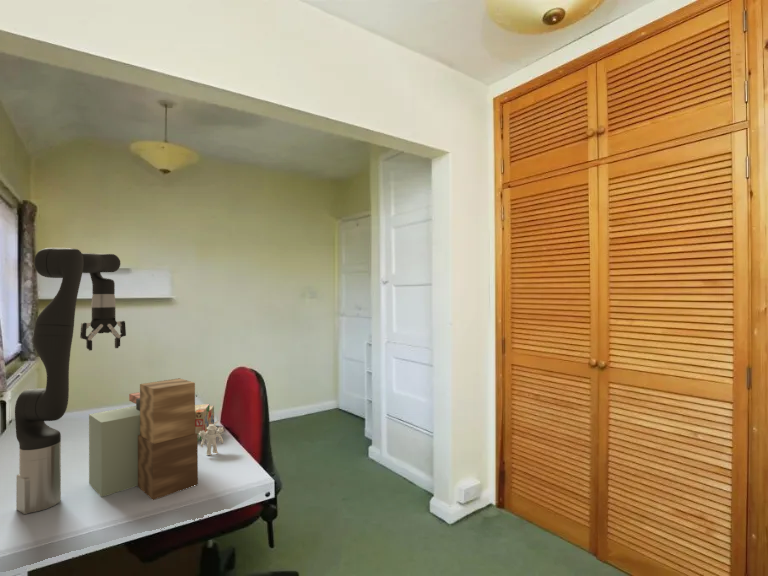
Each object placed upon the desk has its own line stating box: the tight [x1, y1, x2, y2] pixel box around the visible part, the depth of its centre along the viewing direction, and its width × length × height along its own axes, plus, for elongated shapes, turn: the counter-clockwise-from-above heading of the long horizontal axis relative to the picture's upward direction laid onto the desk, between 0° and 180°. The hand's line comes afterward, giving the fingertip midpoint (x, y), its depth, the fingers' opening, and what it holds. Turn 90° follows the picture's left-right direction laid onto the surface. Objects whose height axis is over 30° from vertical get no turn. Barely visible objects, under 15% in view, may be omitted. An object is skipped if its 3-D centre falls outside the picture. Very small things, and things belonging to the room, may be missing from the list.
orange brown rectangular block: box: [128, 391, 140, 411], centre depth 146 cm, size 23×8×4 cm, turn 48°
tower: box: [137, 377, 199, 501], centre depth 132 cm, size 13×13×32 cm
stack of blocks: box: [195, 403, 215, 440], centre depth 184 cm, size 21×6×12 cm, turn 10°
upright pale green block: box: [88, 405, 140, 498], centre depth 139 cm, size 14×24×22 cm, turn 137°
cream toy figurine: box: [199, 419, 225, 456], centre depth 159 cm, size 9×4×12 cm, turn 127°
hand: (103, 349), depth 159 cm, fingers open, 8 cm apart
